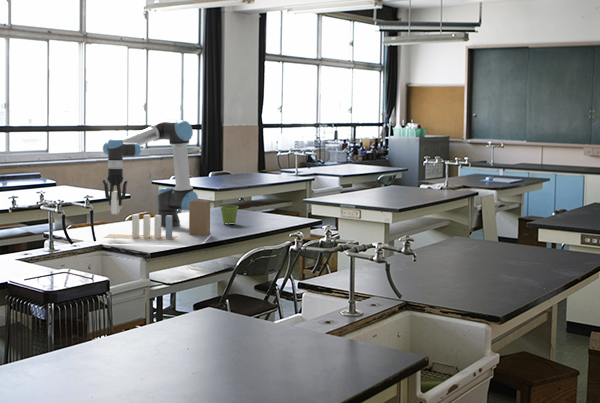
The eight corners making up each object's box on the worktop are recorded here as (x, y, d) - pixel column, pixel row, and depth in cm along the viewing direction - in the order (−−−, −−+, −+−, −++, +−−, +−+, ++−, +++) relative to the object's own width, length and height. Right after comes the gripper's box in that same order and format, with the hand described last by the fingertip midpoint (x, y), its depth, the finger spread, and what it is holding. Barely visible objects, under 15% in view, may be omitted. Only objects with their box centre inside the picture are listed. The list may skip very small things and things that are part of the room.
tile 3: (145, 236, 369) (145, 214, 368) (150, 236, 369) (150, 214, 368) (143, 237, 365) (143, 215, 363) (148, 237, 365) (148, 215, 363)
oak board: (109, 235, 373) (109, 234, 373) (178, 238, 373) (178, 236, 373) (103, 239, 362) (103, 237, 361) (173, 241, 361) (173, 239, 361)
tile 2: (134, 236, 369) (134, 214, 368) (139, 236, 369) (139, 214, 368) (132, 237, 365) (132, 215, 363) (137, 237, 365) (137, 215, 363)
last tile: (167, 237, 369) (167, 215, 368) (172, 237, 369) (172, 215, 368) (165, 238, 364) (165, 216, 363) (170, 238, 364) (170, 216, 363)
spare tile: (116, 214, 363) (116, 191, 362) (111, 213, 363) (111, 191, 362) (119, 213, 368) (119, 191, 367) (114, 212, 368) (114, 190, 367)
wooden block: (210, 234, 387) (210, 199, 385) (206, 237, 377) (206, 201, 375) (193, 233, 388) (193, 199, 386) (188, 236, 378) (188, 201, 376)
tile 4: (156, 236, 369) (156, 214, 368) (161, 236, 369) (161, 215, 368) (154, 238, 364) (154, 216, 363) (159, 238, 364) (159, 216, 363)
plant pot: (220, 222, 434) (221, 205, 433) (239, 223, 434) (239, 205, 433) (218, 225, 422) (218, 207, 421) (237, 226, 422) (237, 208, 421)
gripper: (98, 168, 360) (98, 212, 362) (128, 169, 359) (127, 213, 362) (103, 167, 367) (103, 210, 370) (131, 168, 367) (131, 211, 369)
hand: (115, 211), depth 366 cm, fingers closed on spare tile, 3 cm apart
